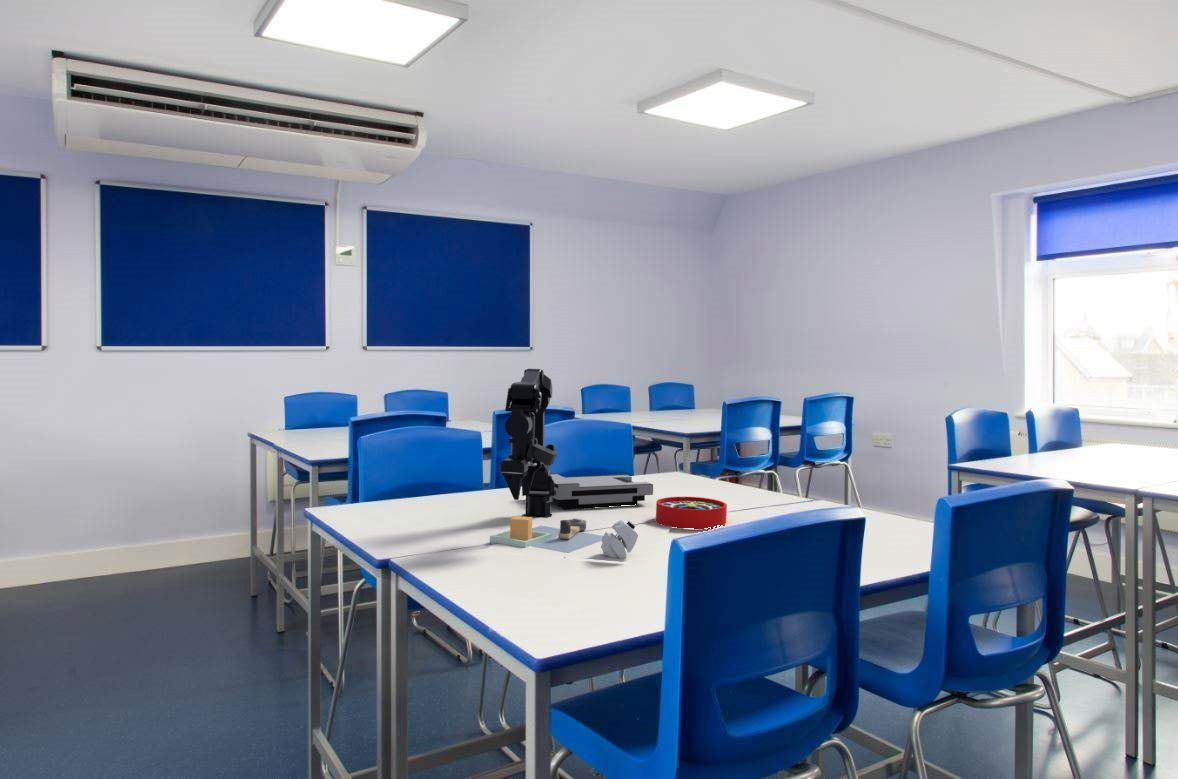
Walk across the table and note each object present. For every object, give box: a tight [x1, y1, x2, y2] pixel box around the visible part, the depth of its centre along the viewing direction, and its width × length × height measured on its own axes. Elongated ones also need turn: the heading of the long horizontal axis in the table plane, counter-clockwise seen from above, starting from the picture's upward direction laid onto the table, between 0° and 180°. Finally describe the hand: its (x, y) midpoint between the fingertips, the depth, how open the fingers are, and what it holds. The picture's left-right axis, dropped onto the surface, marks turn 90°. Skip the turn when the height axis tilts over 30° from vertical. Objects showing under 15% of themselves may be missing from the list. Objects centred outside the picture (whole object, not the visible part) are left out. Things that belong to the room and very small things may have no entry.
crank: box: [558, 517, 587, 539], centre depth 209 cm, size 15×5×4 cm, turn 166°
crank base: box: [506, 525, 603, 554], centre depth 204 cm, size 22×20×1 cm
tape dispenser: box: [600, 519, 639, 559], centre depth 188 cm, size 6×7×10 cm
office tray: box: [547, 473, 654, 511], centre depth 257 cm, size 21×32×8 cm, turn 113°
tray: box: [489, 529, 552, 548], centre depth 201 cm, size 11×11×2 cm
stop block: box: [509, 515, 533, 541], centre depth 201 cm, size 4×5×6 cm
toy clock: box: [655, 496, 728, 531], centre depth 229 cm, size 20×6×20 cm
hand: (521, 496), depth 200 cm, fingers open, 9 cm apart
